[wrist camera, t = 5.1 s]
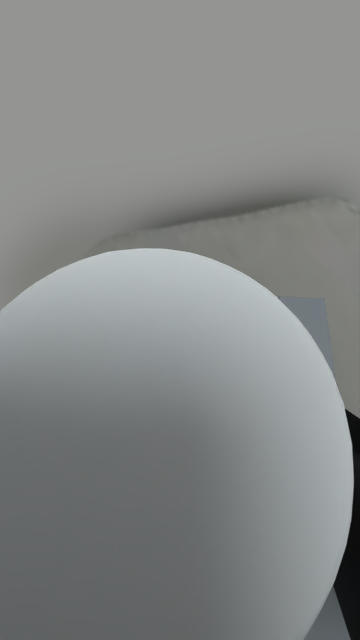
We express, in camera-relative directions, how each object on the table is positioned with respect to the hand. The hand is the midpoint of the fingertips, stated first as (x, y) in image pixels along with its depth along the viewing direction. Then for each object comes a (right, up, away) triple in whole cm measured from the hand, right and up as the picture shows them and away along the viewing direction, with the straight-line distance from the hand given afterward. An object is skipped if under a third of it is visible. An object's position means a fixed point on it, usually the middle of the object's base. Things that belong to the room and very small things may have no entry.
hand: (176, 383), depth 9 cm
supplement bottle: (0, -4, +6) cm, 7 cm away
